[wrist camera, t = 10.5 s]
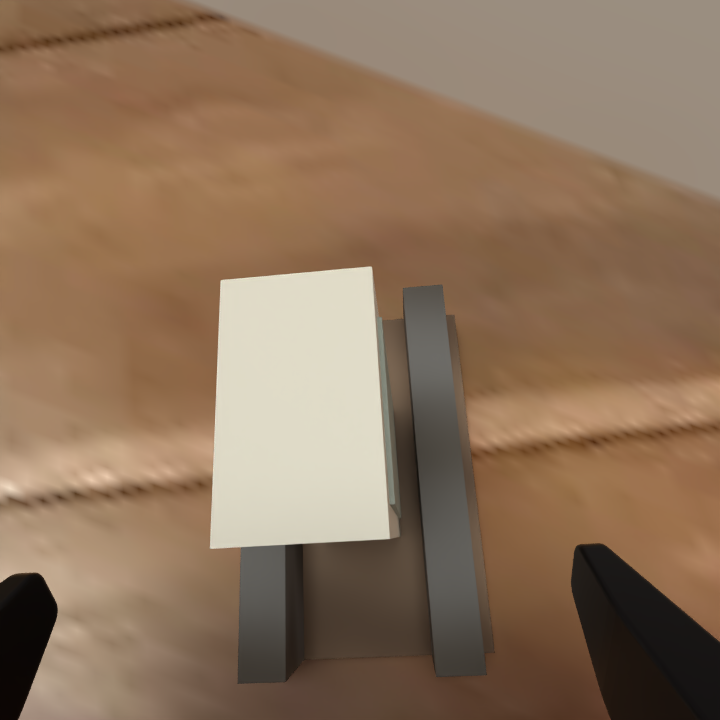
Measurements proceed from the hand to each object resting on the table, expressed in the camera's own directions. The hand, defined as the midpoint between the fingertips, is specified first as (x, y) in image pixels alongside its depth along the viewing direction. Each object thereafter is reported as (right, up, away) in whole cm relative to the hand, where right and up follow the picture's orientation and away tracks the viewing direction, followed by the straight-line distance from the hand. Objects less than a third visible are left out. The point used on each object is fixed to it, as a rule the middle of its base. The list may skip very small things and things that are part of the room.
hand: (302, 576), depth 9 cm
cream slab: (+1, -1, +12) cm, 12 cm away
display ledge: (+1, -1, +13) cm, 13 cm away
